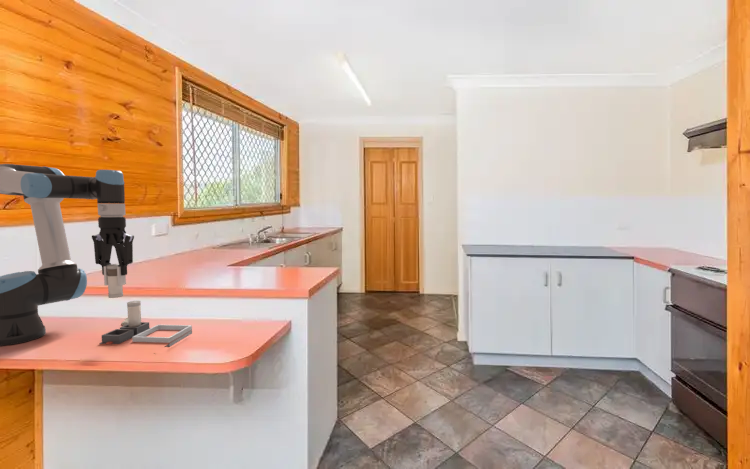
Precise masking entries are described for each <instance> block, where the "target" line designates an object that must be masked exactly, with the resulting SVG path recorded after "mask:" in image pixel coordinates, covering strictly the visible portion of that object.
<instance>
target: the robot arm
mask: <svg viewBox="0 0 750 469" xmlns="http://www.w3.org/2000/svg"><path fill="white" fill-rule="evenodd" d="M124 178H125V177H124V174H123V172H122V171H121V170H114V169H98V170H96V172H95V176H83V175H82V176H81V175H78V176H77V175H68V174H67V175H66V174H64V173H63V171H61V170H60V169H58V168H56V167H48V166H44V165H42V166H40V165H39V166H38V165H26V164H25V165H24V164H16V163H15V164H14V163H0V195H7V196H21V197H23V201H24V202H25V203H26V204H28V205H29V206H30V210H31V215H32V220H33V225H34V229H35V235H36V240H37V244H38V250H39V251H38V252H39V255H40V260H41V266H40V267H39V268H38V269H37V273H36V271H32V270H24V271H21V272H20V271H18V272H12V273H8V274H4V275H0V346H1V347H2V346H10V345H17V344H22V343H26V342H30V341H33V340H36V339H39V338H41V337H43V336H45V335H46V334H47V330H46V329H47V328H46V326H45V325H44V323H43V320H42V319H41V316H40V315H39V306H43V305H50V304H53V303H59V302H65V301H70V300H74V299H79V297H82V296H83V294H84V293H85V292H86V289H87V286H88V285H87V284H88V278H87V273H86V271H85V270H84V269H83V268H78V265H77V263H76V262H74V261H72V259H71V258H72V257H71V253H70V249H69V244H68V239H67V233H66V229H65V223H64V219H63V215H62V208H61V204H60V203H61V202H62V201H64V199H74V200H76V199H78V200H79V199H80V200H81V199H83V200H85V199H86V200H97V215H98V216H99V217H98V219H97V223H98V226H97V227H98V228H99V229H100V230H99V233H98V234H94V235H91V239H92V242H93V247H94V248H93V251H94V261H95V264H96V265H100V266H101V274H102V276H103V281H104V286H108V276H107V265H110V264H112V263H111V257H112V250H113V247H114V249H115V250H114V251H115V254H116V258H117V261H118V264H119V265H118V267H117V279H118V286H121V285H123V286H124V285H127V279H126V276H127V275H128V265H131V264H133V262H134V260H133V259H134V256H133V255H134V254H133V249H134V247H133V243H134V239H135V235H133V234H128V233H127V231H126V230H125V229H126V227H127V220H126V217H125V216H126V203H125V202H126V200H125V199H126V198H125V181H124V180H125V179H124Z"/></svg>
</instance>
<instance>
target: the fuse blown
mask: <svg viewBox="0 0 750 469" xmlns="http://www.w3.org/2000/svg"><path fill="white" fill-rule="evenodd" d="M118 265H119V263H111V264H110V265H107V276H108V285H107V288H108V290H107V291H108V293H107V294H108V299H109V298H110V299H117V298H122V297H124V291H123V288H124V285H121V286H118V279H117V267H118Z"/></svg>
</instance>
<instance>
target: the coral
mask: <svg viewBox="0 0 750 469" xmlns="http://www.w3.org/2000/svg"><path fill="white" fill-rule="evenodd" d="M127 324H128V317H125V319H124V320H123V321H122V322H121V323H120V325H122V326H125V325H127Z"/></svg>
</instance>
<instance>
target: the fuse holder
mask: <svg viewBox="0 0 750 469" xmlns="http://www.w3.org/2000/svg"><path fill="white" fill-rule="evenodd" d="M150 328H151V327H150V321H149V322H148V321H147V322H146V321H141V325H140V326H138V327H128V324H127V325H124V326H123V325H122V326H120V327H119V328H116V329H113V330H111V331H108V332H106V333H104V334H102V335H101V342H99V345H100V344H106V345H120V344H122V343H124V342H126V341H129V340H130V339H131V340H132V337H133V336H135V335H137V334H139V333H142V332H144V331H146V330H148V329H150Z"/></svg>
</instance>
